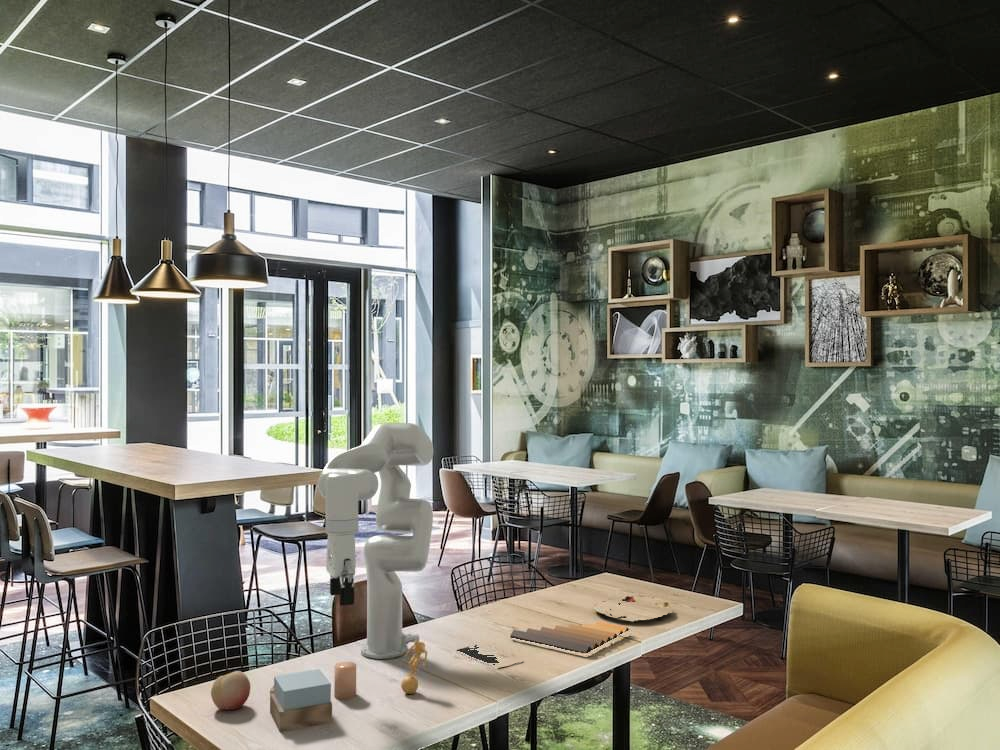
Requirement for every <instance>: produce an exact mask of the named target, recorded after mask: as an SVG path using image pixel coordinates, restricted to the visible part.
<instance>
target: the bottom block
mask: <svg viewBox="0 0 1000 750" xmlns="http://www.w3.org/2000/svg"><path fill="white" fill-rule="evenodd" d="M269 713H270V716H271V718H272V720H273V722H274V723H275V726H276V728H277V730H278V731H279V733H283V732H288V731H294V730H299V729H305V728H310V727H315V726H320V725H321V726H322V725H326V724H332V723H333V703H332V701H331V702H329V703H324V704H318V705H313V706H307V707H302V708H296V709H291V710H285V711H283V709H282V707H281V706H280V704H279V702H278V700H277V699H276V697H275V695H274V694H270V693H269Z"/></svg>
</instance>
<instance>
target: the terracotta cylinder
mask: <svg viewBox="0 0 1000 750" xmlns="http://www.w3.org/2000/svg"><path fill="white" fill-rule="evenodd" d="M333 672H334V673H333V675H334V683H333V684H334V685H333V686H334V687H333V688H334V690H333V691H334V692H333V693H334V694H333V695H334V696H333V697H334V698H335V699H336V700H338V701H339V700H340V701H347V700H352V699H355V698H356V697H357V663H355V662H353V661H352V662H351V661H342V662H339V663H336V664H335V665H334V671H333Z"/></svg>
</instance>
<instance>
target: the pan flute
mask: <svg viewBox="0 0 1000 750" xmlns="http://www.w3.org/2000/svg"><path fill="white" fill-rule="evenodd" d="M628 630H630V629H629V627H626V626H624V625H623V626H622V625H617V624H611V623H607V622H602V621H596V622H595V624H592V623H587V622H583V623H582V625H581V626H580V625H577V624H572V623H569V625H568V627H567V626H561V625H555V627H554V628H551V627H546V626H541V628H540V630H538V629H534V628H529V627H527V629H526V631H523V630H518V629H512V632H511V634H510V639H511V638H516V639H520V640H525V641H530V642H535V643H539V644H545V645H549V646H554V647H557V648H561V649H565V650H570V651H575V652H581V653H588V652H590V651H591V650H593V649H595V648H597V647H599V646H601V645H603V644H604V643H606V642H608V641H610V640H612V639H614V638H616V637H617V636H619V635H620V634H622V633H623V632H626V631H628Z"/></svg>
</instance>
